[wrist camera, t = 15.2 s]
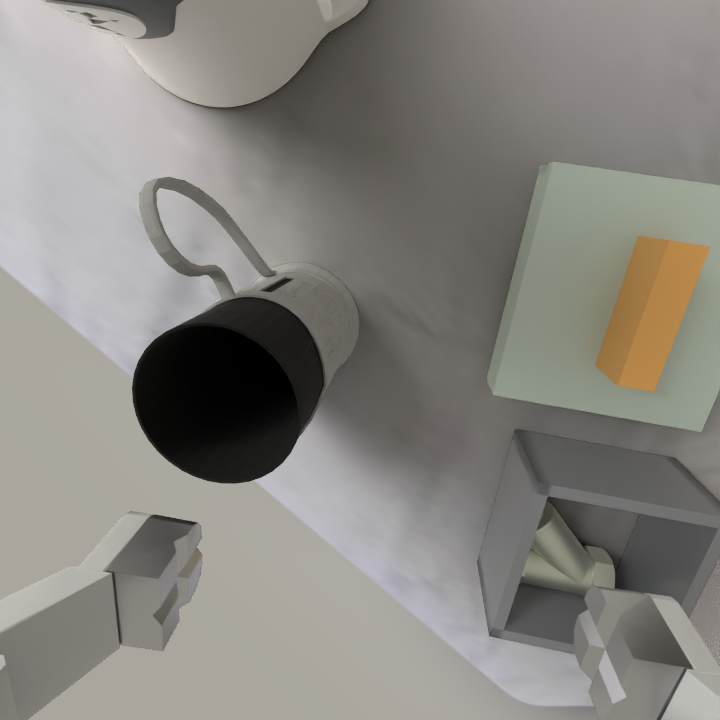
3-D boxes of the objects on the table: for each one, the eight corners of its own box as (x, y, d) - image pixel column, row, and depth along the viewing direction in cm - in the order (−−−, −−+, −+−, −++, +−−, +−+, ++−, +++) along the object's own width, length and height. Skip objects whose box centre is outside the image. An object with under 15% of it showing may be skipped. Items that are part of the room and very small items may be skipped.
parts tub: (515, 429, 34) (538, 482, 28) (675, 458, 34) (738, 520, 27) (477, 562, 39) (489, 636, 32) (618, 590, 38) (661, 672, 31)
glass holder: (268, 391, 36) (171, 512, 22) (193, 209, 32) (15, 212, 18) (375, 361, 34) (344, 472, 20) (308, 164, 30) (212, 129, 16)
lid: (540, 165, 29) (573, 155, 23) (765, 197, 28) (863, 196, 22) (486, 379, 33) (501, 418, 27) (676, 412, 33) (736, 460, 26)
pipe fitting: (508, 485, 37) (491, 557, 38) (519, 513, 33) (499, 591, 35) (612, 504, 36) (589, 576, 38) (635, 534, 32) (608, 613, 34)
